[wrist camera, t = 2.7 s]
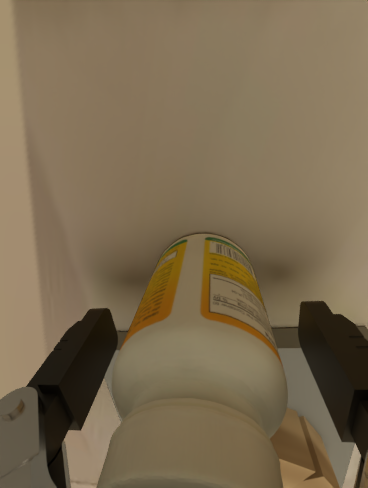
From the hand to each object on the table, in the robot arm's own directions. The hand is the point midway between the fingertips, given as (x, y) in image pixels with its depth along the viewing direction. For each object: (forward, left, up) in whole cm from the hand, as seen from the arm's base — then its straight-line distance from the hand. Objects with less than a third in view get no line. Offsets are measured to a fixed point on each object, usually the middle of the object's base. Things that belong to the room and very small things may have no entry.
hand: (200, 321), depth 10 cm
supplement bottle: (0, 0, -4) cm, 4 cm away
